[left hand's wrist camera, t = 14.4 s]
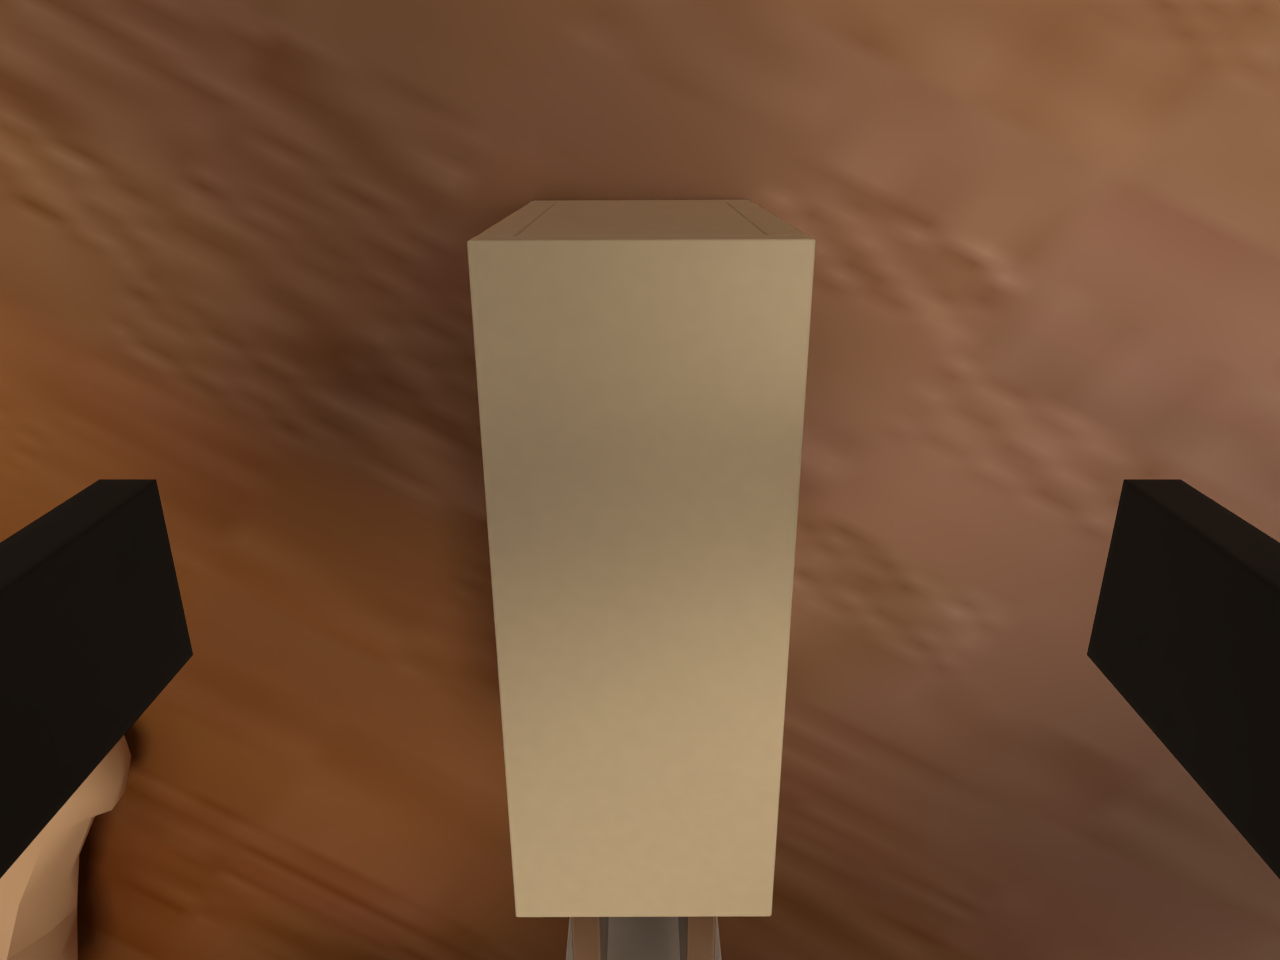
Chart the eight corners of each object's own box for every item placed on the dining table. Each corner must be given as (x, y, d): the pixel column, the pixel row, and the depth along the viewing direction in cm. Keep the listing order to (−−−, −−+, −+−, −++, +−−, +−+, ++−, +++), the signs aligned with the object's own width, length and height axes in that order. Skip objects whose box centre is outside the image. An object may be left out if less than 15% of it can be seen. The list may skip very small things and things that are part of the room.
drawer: (707, 991, 38) (727, 1237, 29) (579, 991, 38) (562, 1237, 29) (722, 519, 30) (755, 670, 21) (561, 519, 30) (529, 671, 21)
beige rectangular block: (731, 678, 33) (771, 917, 23) (553, 678, 33) (515, 918, 23) (750, 199, 27) (816, 238, 17) (531, 200, 27) (466, 240, 17)
